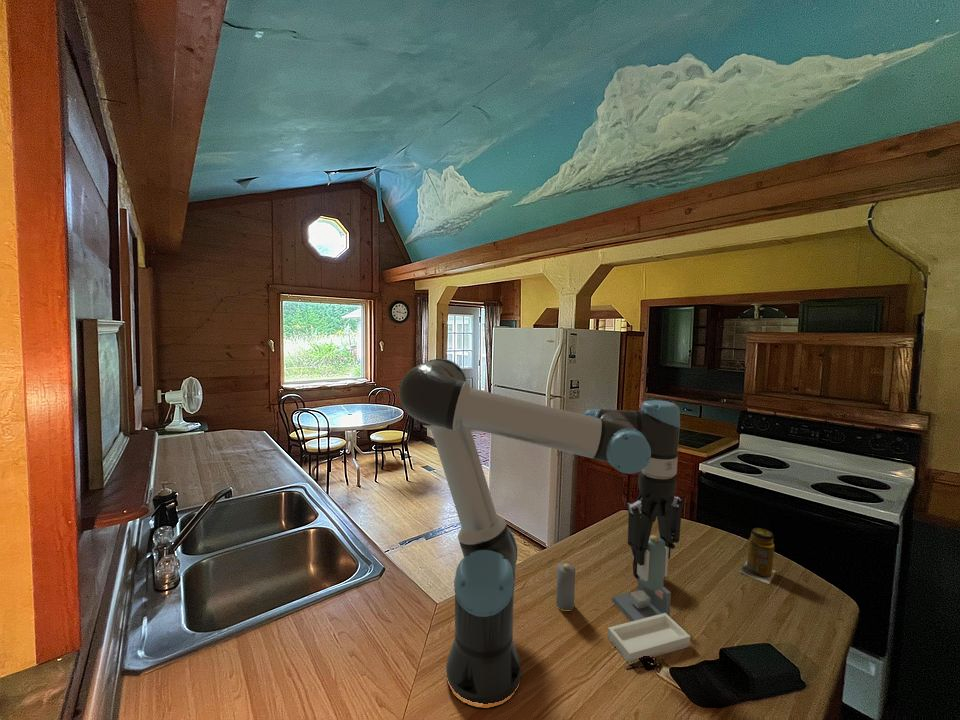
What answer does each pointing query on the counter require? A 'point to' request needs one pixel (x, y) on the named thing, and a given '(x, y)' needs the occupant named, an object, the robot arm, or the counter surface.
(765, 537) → the condiment
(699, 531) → the counter surface
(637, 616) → the grey l-shaped piece
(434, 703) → the counter surface
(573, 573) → the cell
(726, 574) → the counter surface
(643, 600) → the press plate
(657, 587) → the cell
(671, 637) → the trough
